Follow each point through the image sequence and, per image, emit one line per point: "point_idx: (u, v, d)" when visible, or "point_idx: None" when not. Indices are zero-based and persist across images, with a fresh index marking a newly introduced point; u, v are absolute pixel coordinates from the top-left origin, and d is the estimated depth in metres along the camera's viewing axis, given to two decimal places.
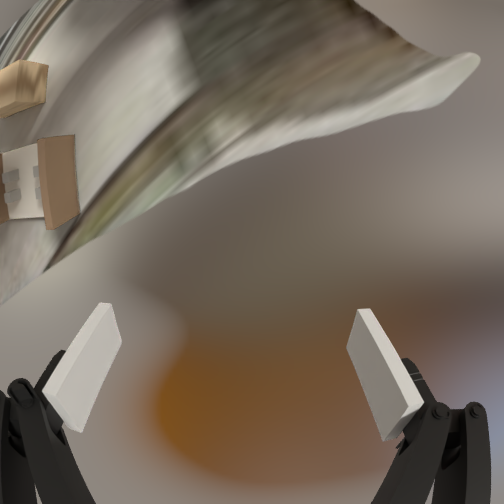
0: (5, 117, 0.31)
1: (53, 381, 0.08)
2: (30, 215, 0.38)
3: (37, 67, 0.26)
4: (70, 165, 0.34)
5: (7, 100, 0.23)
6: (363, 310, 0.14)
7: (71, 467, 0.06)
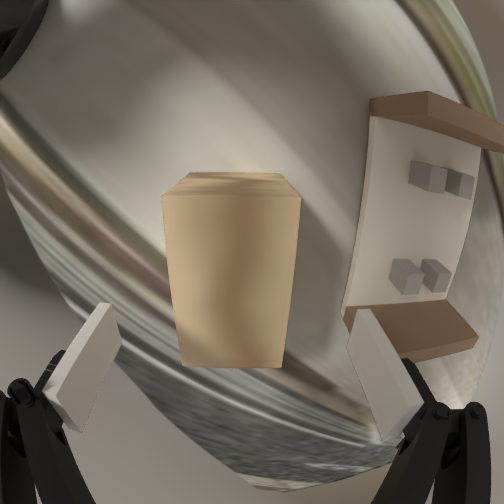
0: None
1: (53, 381, 0.08)
2: (461, 242, 0.23)
3: (193, 179, 0.18)
4: None
5: (284, 234, 0.15)
6: (363, 310, 0.14)
7: (71, 467, 0.06)
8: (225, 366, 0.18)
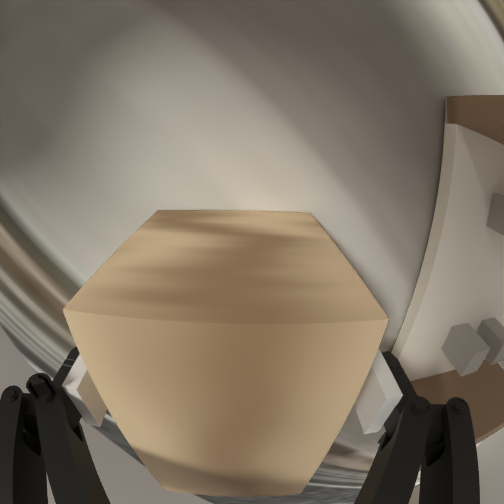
0: None
1: (73, 375, 0.08)
2: None
3: (155, 232, 0.10)
4: None
5: (338, 385, 0.06)
6: None
7: (87, 464, 0.06)
8: (223, 495, 0.10)
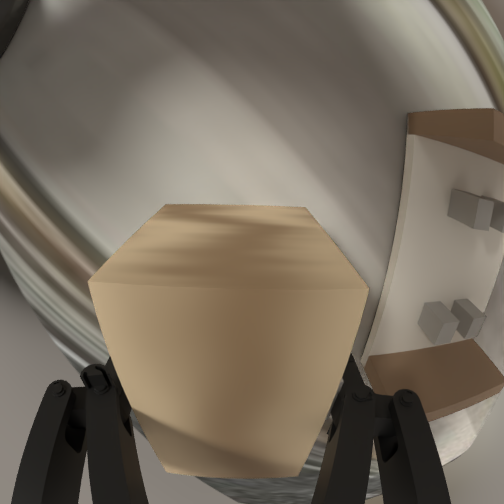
0: None
1: None
2: (494, 278, 0.18)
3: (165, 222, 0.11)
4: None
5: (328, 351, 0.07)
6: None
7: (133, 460, 0.07)
8: (223, 477, 0.11)
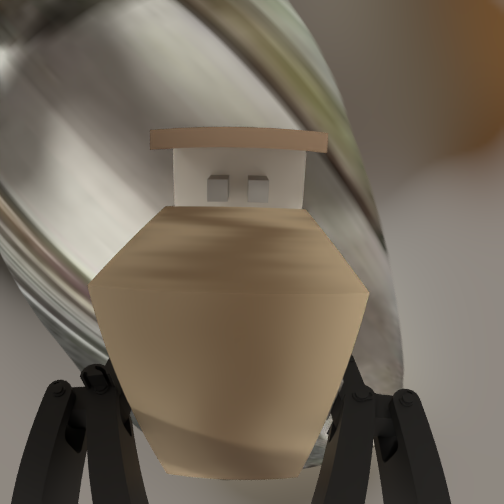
0: None
1: None
2: None
3: (164, 225, 0.11)
4: None
5: (328, 355, 0.07)
6: None
7: (133, 460, 0.07)
8: (223, 478, 0.11)
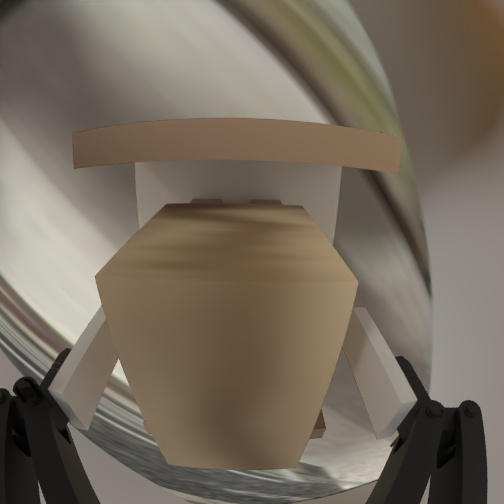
0: None
1: (59, 379, 0.08)
2: None
3: (166, 220, 0.11)
4: None
5: (321, 342, 0.08)
6: (358, 308, 0.14)
7: (76, 466, 0.06)
8: (223, 468, 0.11)
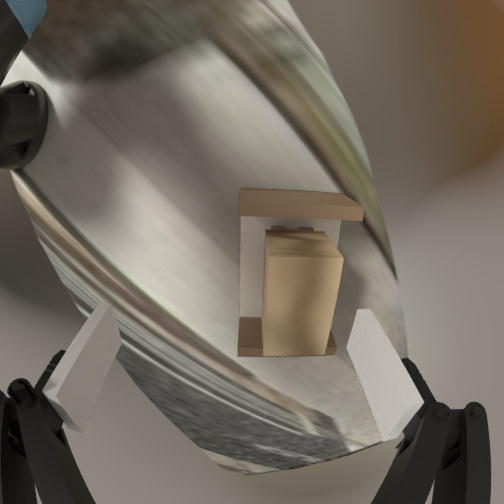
0: None
1: (53, 381, 0.08)
2: None
3: (274, 238, 0.30)
4: (280, 191, 0.33)
5: (334, 277, 0.26)
6: (363, 310, 0.14)
7: (71, 467, 0.06)
8: (290, 354, 0.30)
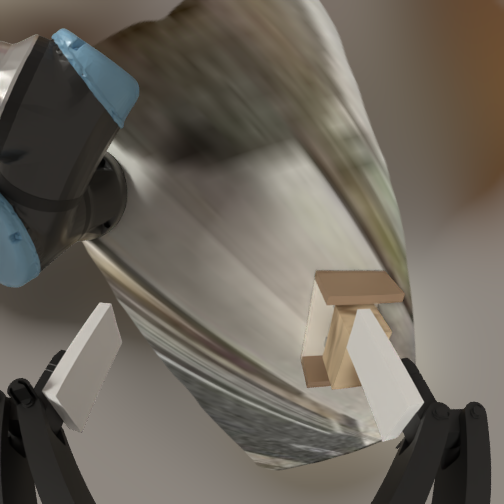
0: None
1: (53, 381, 0.08)
2: None
3: (345, 315, 0.40)
4: (345, 275, 0.44)
5: None
6: (363, 310, 0.14)
7: (71, 467, 0.06)
8: (349, 387, 0.41)
